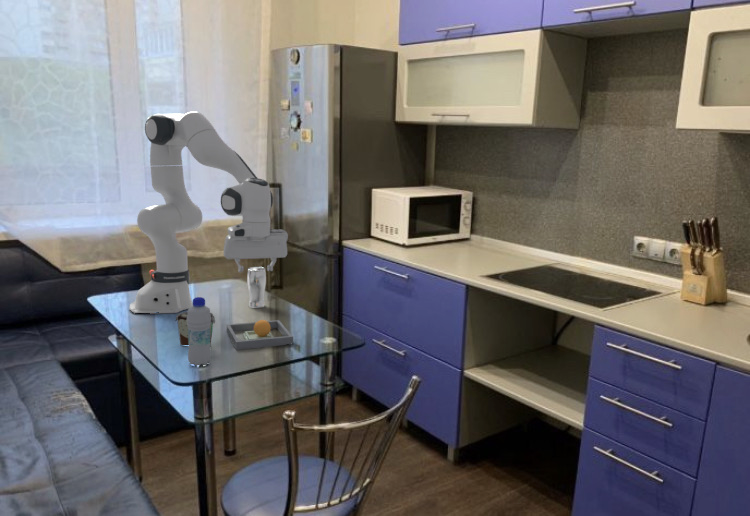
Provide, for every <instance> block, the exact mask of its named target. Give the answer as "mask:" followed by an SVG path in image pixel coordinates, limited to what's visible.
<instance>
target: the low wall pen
mask: <svg viewBox="0 0 750 516" xmlns="http://www.w3.org/2000/svg"><path fill="white" fill-rule="evenodd" d="M266 321H267V322H269V324H270V326H271V330H272V329H277V330H278V332H279V333H280V334H281V335H282V336H275V337H274V336H273V338H263V339H252V340H245V339H244V340H243V339H242V340H239V339H238V337H237V335H236V333H238V332H246V331H254V325H255V323H256V322H257V321H253V322H252V321H251V322H242V323H230V324H229V323H228V324H226V326H225V327H226V329H225V330H226V333H227V336H228V338H229V339H230V341H231V343H232V344H233V346H234V349H235V350H236V351H237V350H247V349H249V350H250V349H258V348H269V347H276V346H277V347H278V346H287V345H286V344H289V345H292V344H291V343H293V344H294V336H293V335H292V333H291V332H290V331H289V330H288V329H287V328H286V327H285V325H284V324H283V323H282V322H281V321H280V319H277V320H266Z"/></svg>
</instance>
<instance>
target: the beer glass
mask: <svg viewBox="0 0 750 516" xmlns="http://www.w3.org/2000/svg"><path fill="white" fill-rule="evenodd" d="M266 275H267V273H266V268H265V267H262V266H250V267H248V268H247V277H246V279H247V288H248V293H249V301H248V308H250V309H262V308H265V300H264V296H265V295H264V294H265V290H266V285H267V276H266Z"/></svg>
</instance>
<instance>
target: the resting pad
mask: <svg viewBox="0 0 750 516" xmlns="http://www.w3.org/2000/svg"><path fill="white" fill-rule="evenodd" d="M242 336H243V338H244V340H252V339H263V338H273V337H274V335H273V334H272V333H271V332H270V333H269V334H268V335H267V336H264V337H260V336H258V335H256V334H255V332H254V330H251V331H244V333H242Z"/></svg>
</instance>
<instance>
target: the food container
mask: <svg viewBox="0 0 750 516" xmlns="http://www.w3.org/2000/svg"><path fill="white" fill-rule="evenodd" d="M187 313H188V310H187V311H183V312H182V311H181V312H178V313H176V316H175V322H177V328H178V329H177V330H178V335H179V343H180V346H181V345H189V341H188V326H187ZM210 315H211V325H210V348H211V347H212V337H213V327H214V324H215V323H216V318H215V315H214V314H213V313H212V312H210Z"/></svg>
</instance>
